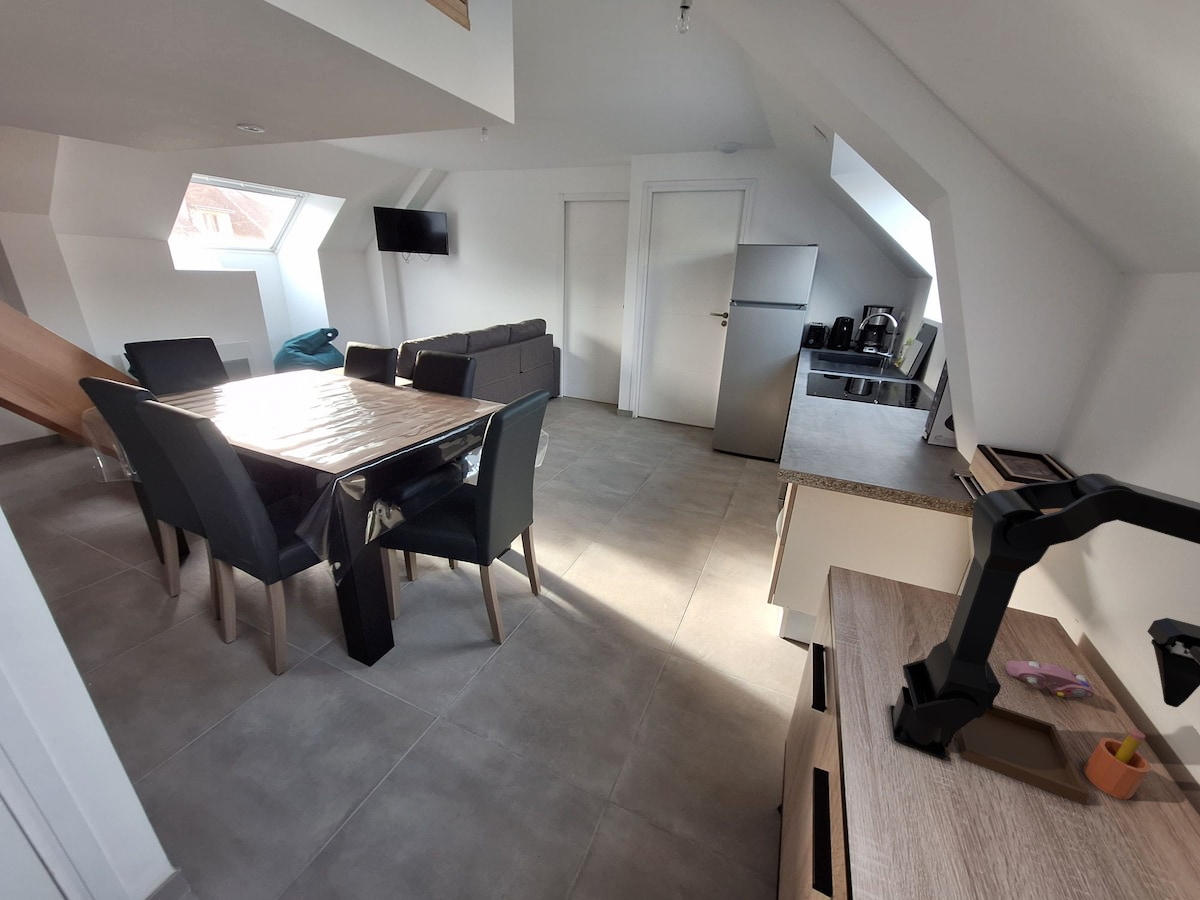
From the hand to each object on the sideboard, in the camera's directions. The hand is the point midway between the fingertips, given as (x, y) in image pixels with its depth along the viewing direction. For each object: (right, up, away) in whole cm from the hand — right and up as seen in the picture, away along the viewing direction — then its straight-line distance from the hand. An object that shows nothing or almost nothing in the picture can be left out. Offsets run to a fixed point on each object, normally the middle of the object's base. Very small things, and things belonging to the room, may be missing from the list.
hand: (1193, 734), depth 55 cm
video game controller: (+3, -6, +22) cm, 23 cm away
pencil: (-2, -11, +8) cm, 13 cm away
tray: (-12, -9, +12) cm, 19 cm away
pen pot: (-2, -11, +8) cm, 14 cm away
